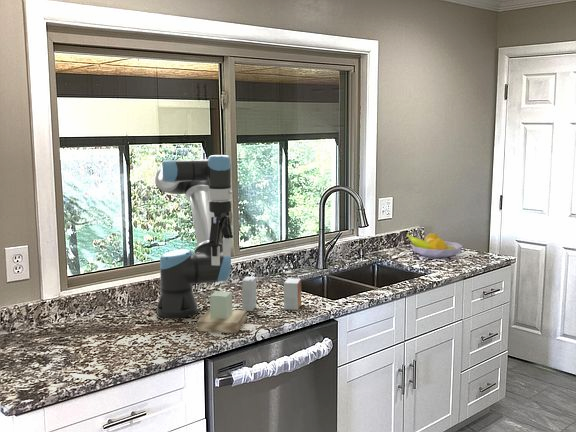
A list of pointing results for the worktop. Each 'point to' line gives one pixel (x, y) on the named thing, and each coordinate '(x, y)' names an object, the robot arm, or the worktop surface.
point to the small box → (292, 294)
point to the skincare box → (248, 293)
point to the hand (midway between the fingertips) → (221, 260)
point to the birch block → (222, 322)
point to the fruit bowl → (434, 246)
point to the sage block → (220, 304)
